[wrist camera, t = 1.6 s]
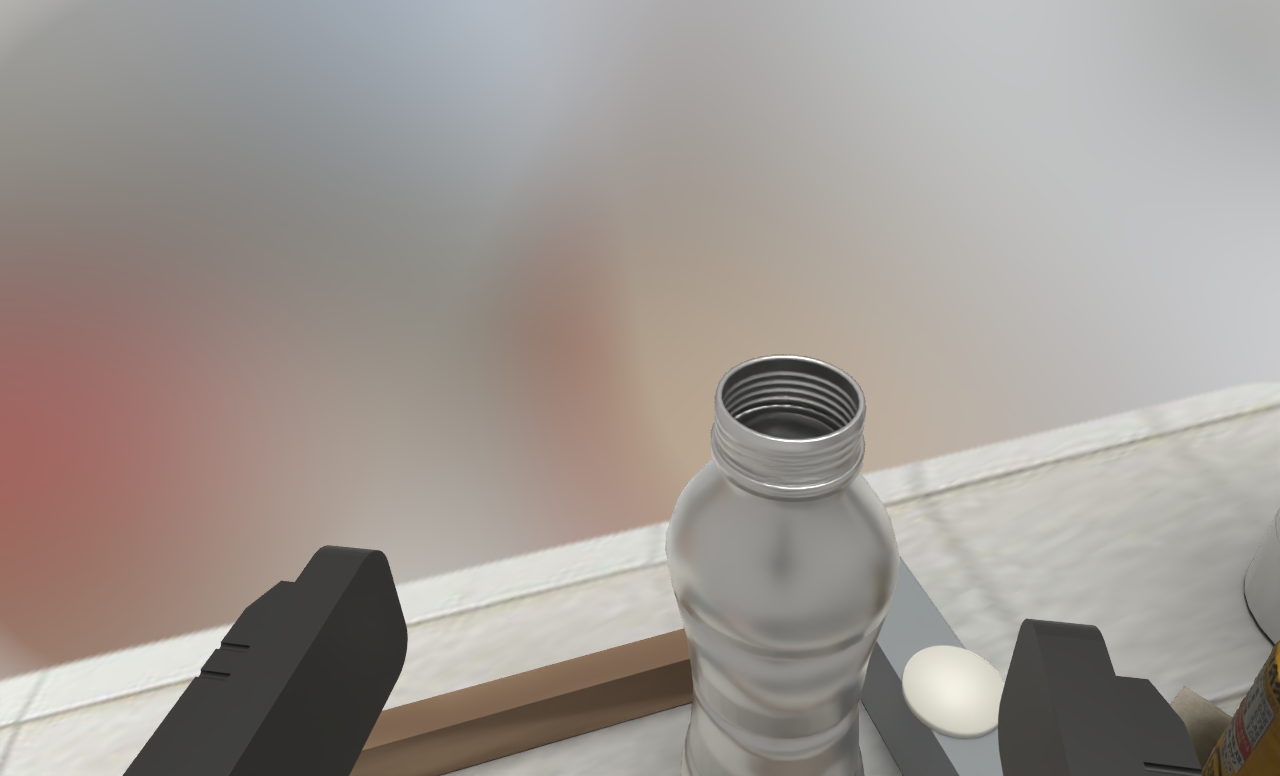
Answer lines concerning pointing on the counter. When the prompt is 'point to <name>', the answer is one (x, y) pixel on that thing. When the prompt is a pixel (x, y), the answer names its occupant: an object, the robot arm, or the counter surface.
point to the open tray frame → (529, 709)
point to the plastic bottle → (781, 574)
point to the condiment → (1237, 727)
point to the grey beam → (931, 691)
